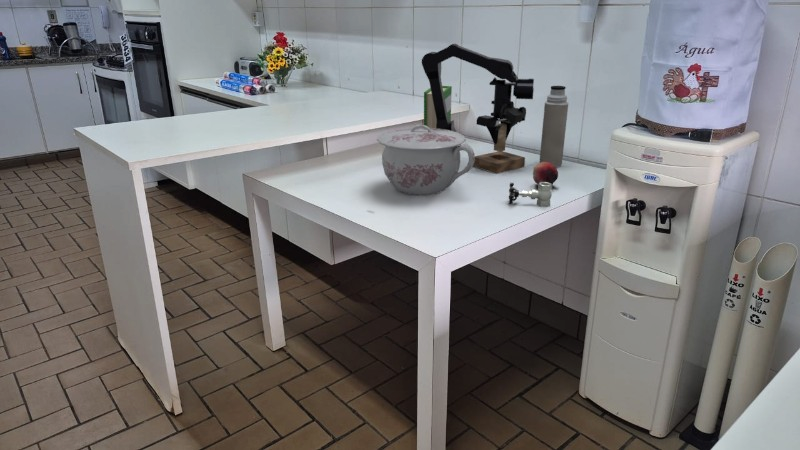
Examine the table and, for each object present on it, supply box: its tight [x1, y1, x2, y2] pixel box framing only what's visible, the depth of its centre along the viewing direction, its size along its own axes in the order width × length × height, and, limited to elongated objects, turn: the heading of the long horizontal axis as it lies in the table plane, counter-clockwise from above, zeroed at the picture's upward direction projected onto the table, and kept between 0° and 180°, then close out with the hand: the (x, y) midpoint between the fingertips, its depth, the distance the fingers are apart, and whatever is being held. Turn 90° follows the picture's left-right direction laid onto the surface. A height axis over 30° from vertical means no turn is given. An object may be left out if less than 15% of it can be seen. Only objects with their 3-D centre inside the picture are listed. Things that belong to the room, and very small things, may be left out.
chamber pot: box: [376, 124, 476, 196], centre depth 172 cm, size 28×28×21 cm
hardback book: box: [423, 85, 453, 128], centre depth 217 cm, size 18×7×24 cm, turn 165°
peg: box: [493, 123, 507, 152], centre depth 194 cm, size 4×4×9 cm
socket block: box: [472, 151, 526, 175], centre depth 198 cm, size 14×12×4 cm
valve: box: [508, 182, 553, 208], centre depth 160 cm, size 7×7×12 cm
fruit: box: [532, 162, 559, 185], centre depth 175 cm, size 8×8×8 cm
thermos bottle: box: [538, 85, 569, 168], centre depth 195 cm, size 8×8×28 cm
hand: (499, 142), depth 195 cm, fingers closed on peg, 4 cm apart
